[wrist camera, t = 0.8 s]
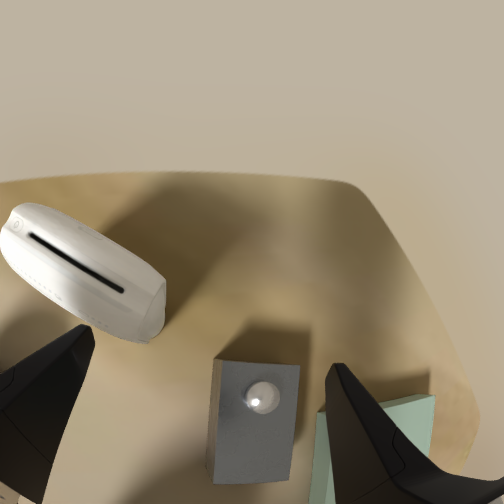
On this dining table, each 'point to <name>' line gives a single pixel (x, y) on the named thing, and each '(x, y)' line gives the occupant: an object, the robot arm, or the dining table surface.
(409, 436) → the sage stand
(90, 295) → the photo printer
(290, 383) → the graphite housing
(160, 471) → the dining table surface
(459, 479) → the robot arm
